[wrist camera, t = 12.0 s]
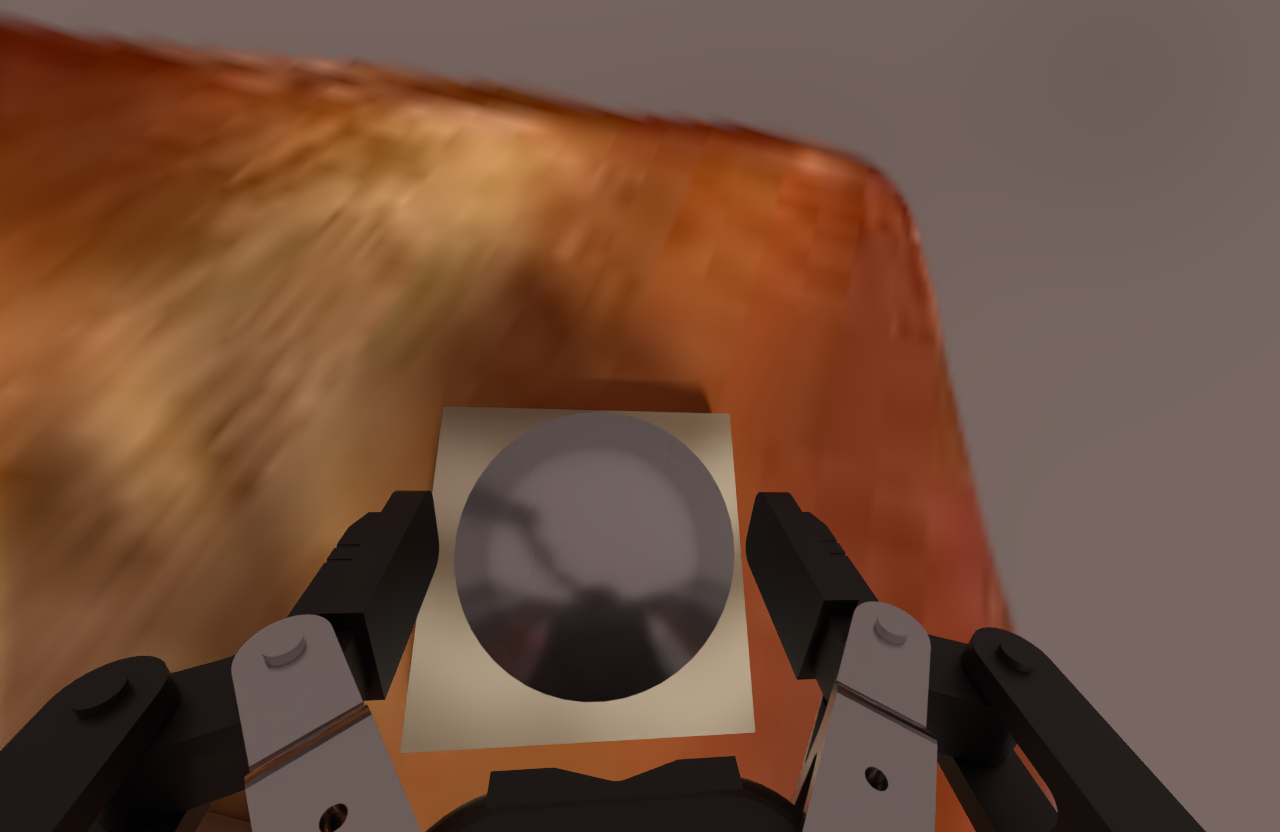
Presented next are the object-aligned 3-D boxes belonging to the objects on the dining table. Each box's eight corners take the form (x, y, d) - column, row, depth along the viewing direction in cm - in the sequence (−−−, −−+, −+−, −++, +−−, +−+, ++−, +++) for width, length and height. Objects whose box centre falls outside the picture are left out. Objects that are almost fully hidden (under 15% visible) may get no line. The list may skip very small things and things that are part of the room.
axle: (502, 556, 18) (395, 526, 7) (594, 481, 19) (616, 365, 9) (576, 654, 17) (577, 777, 6) (667, 569, 18) (788, 558, 8)
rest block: (455, 421, 21) (441, 404, 19) (716, 427, 23) (730, 412, 21) (418, 734, 17) (398, 755, 15) (737, 716, 19) (756, 733, 17)
